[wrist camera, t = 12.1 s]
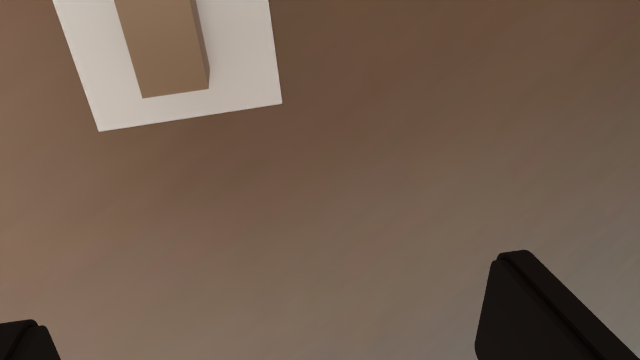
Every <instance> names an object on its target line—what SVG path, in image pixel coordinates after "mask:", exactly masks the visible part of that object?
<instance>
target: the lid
mask: <svg viewBox="0 0 640 360" xmlns="http://www.w3.org/2000/svg"><path fill="white" fill-rule="evenodd" d="M53 3H54V6H55V9H56V11H57V14H58V17H59V20H60V23H61V26H62V28H63V31H64V34H65V37H66V40H67V43H68V45H69V48H70V51H71V54H72V57H73V60H74V62H75V65H76V68H77V71H78V74H79V77H80V79H81V82H82V85H83V88H84V91H85V94H86V96H87V99H88V102H89V105H90V108H91V111H92V114H93V116H94V119H95V122H96V125H97V128H98V131H99V132H100V131H107V130H114V129H120V128H127V127H133V126H140V125H146V124H153V123H159V122H166V121H172V120H179V119H185V118H192V117H198V116H205V115H211V114H218V113H224V112H231V111H237V110H244V109H251V108H257V107H264V106H270V105H277V104H282V97H281V90H280V83H279V75H278V68H277V61H276V54H275V46H274V39H273V32H272V24H271V17H270V10H269V2H268V0H53Z"/></svg>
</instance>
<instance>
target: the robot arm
mask: <svg viewBox="0 0 640 360" xmlns="http://www.w3.org/2000/svg"><path fill="white" fill-rule="evenodd" d="M475 352H476V355H477V358H478V360H640V359H639V358H638V357H637V356H636V355H635V354H634V353H633V352H632V351H631V350H630V349H629V348H628V347H627V346H626V345H625V344H624V343H623V342H622V341H621V340H620V339H619V338H617V337H616V336H615V335H614V334H613V333H612V332H611V331H610V330H609V329H608V328H607V327H606V326H605V325H604V324H603V323H602V322H601V321H600V320H599V319H598V318H597V317H596V316H595V315H594V314H593V313H592V312H591V311H590V310H589V309H588V308H587V307H586V306H585V305H584V304H583V303H582V302H581V301H580V300H579V299H578V298H577V297H576V296H575V295H574V294H573V293H572V292H571V291H570V290H569V289H568V288H567V287H566V286H564V285H563V284H562V283H561V282H560V281H559V280H558V279H557V278H556V277H555V276H554V275H553V274H552V273H551V272H550V271H549V270H548V269H547V268H546V267H545V266H544V265H543V264H542V263H541V262H540V261H539V260H538V259H537V258H536V257H535V256H534V255H533V254H532V253H531V252H529V251H527V250H519V251H512V252H505V253H500V254H499V255H498V257H497V259H496V260H495V261H493V262H492V263H491V267H490V272H489V276H488V281H487V286H486V291H485V296H484V301H483V306H482V311H481V315H480V320H479V325H478V330H477V335H476V340H475ZM0 360H61V359H60V357H59V354H58V352H57V350H56V347H55V345H54V343H53V341H52V338H51V336H50V334H49V331H48V329H47V328H46V327H45V326H44V325H42V326H38V324H37V323H36V321H34V320H33V319H29V320H22V321H15V322H8V323H0Z"/></svg>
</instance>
